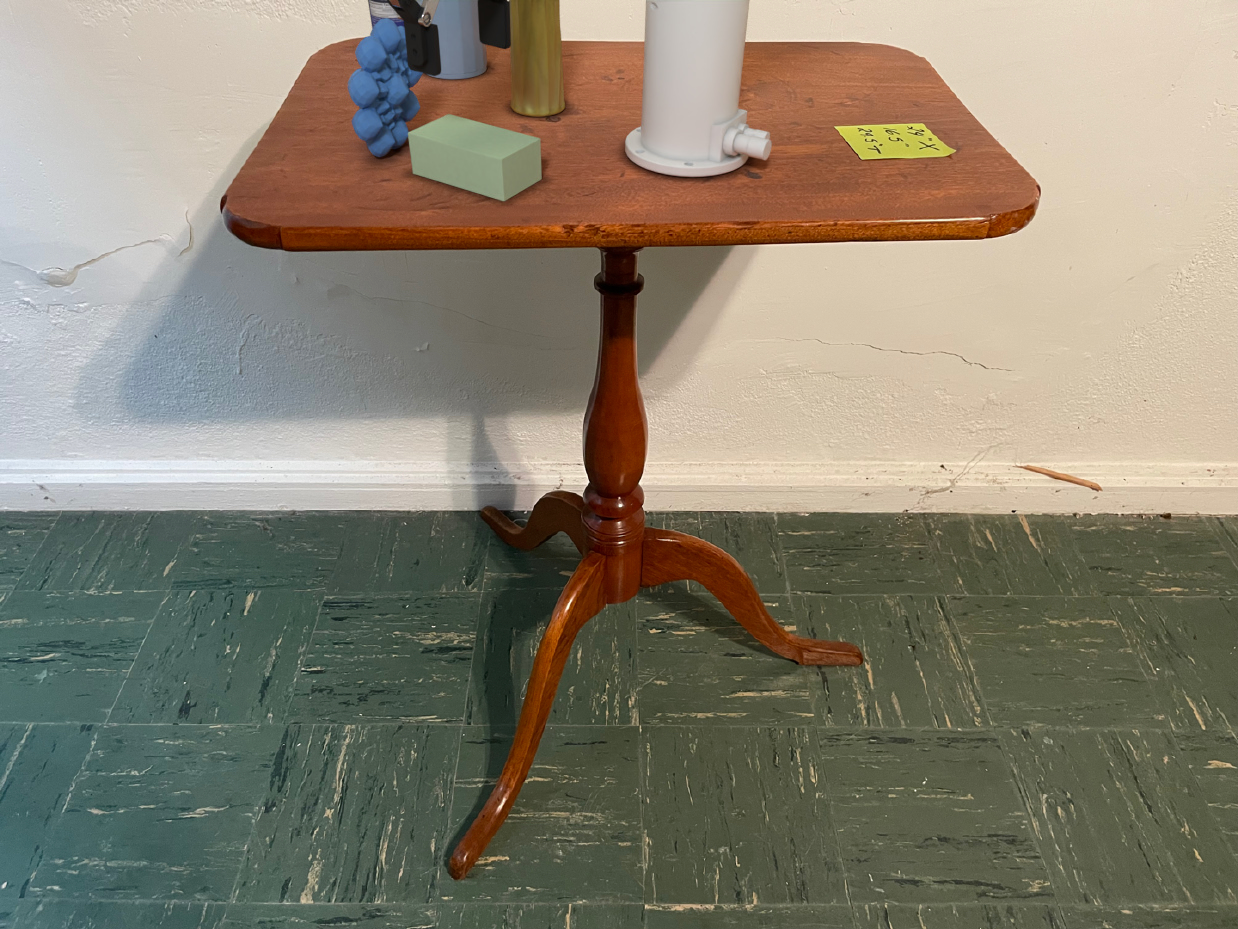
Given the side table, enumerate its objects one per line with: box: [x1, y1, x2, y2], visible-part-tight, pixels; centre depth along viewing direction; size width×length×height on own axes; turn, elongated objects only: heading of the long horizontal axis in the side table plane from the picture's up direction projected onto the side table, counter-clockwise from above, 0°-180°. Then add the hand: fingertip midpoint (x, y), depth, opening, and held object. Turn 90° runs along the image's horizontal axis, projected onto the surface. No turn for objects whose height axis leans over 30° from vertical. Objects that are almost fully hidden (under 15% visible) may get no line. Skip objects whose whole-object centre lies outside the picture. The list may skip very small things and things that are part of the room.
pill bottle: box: [367, 0, 404, 30], centre depth 114 cm, size 6×6×10 cm
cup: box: [417, 0, 488, 80], centre depth 110 cm, size 8×8×9 cm
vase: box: [508, 0, 566, 118], centre depth 99 cm, size 6×6×14 cm
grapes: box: [347, 18, 424, 158], centre depth 90 cm, size 12×7×12 cm, turn 161°
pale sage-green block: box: [407, 113, 543, 202], centre depth 88 cm, size 11×6×4 cm, turn 58°
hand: (461, 58), depth 82 cm, fingers open, 9 cm apart
